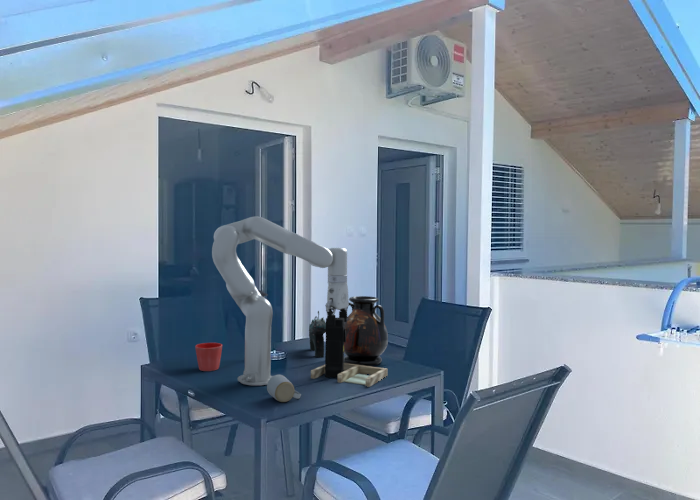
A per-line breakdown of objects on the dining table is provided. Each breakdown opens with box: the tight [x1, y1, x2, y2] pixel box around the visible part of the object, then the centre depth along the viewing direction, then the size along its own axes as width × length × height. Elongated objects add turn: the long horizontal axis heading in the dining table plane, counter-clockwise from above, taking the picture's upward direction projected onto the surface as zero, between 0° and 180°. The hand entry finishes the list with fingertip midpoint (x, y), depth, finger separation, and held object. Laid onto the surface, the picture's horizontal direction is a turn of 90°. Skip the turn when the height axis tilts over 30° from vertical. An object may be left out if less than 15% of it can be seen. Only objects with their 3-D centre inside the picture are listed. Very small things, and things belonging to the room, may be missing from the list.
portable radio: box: [324, 317, 346, 379], centre depth 222 cm, size 8×6×25 cm
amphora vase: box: [344, 295, 389, 367], centre depth 245 cm, size 22×22×28 cm
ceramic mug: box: [266, 374, 302, 403], centre depth 191 cm, size 11×8×8 cm
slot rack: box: [310, 362, 389, 388], centre depth 221 cm, size 18×24×3 cm
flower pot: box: [194, 342, 223, 372], centre depth 229 cm, size 11×11×10 cm
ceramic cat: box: [308, 310, 326, 358], centre depth 261 cm, size 20×6×20 cm, turn 13°
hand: (337, 323), depth 222 cm, fingers open, 9 cm apart
